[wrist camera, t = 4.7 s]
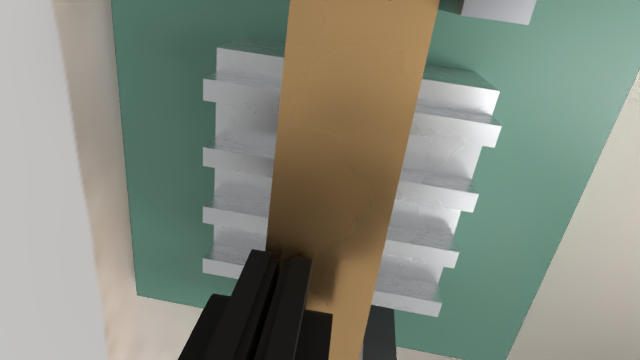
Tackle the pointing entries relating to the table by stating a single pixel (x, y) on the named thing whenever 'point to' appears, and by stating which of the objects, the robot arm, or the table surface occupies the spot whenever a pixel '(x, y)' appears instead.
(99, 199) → the table surface
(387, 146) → the strap
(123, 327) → the table surface
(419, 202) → the heat sink
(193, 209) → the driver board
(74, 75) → the table surface
